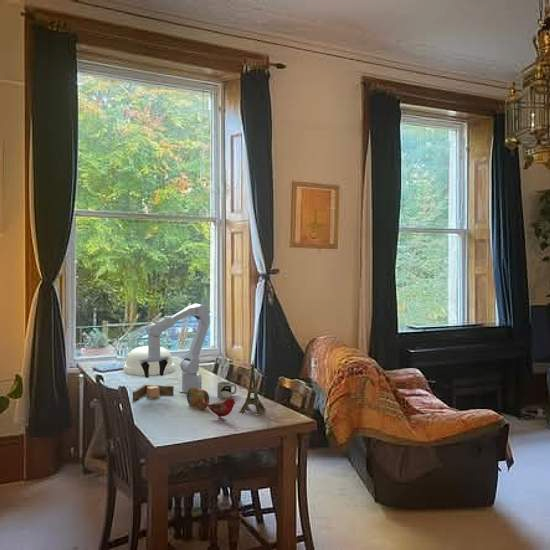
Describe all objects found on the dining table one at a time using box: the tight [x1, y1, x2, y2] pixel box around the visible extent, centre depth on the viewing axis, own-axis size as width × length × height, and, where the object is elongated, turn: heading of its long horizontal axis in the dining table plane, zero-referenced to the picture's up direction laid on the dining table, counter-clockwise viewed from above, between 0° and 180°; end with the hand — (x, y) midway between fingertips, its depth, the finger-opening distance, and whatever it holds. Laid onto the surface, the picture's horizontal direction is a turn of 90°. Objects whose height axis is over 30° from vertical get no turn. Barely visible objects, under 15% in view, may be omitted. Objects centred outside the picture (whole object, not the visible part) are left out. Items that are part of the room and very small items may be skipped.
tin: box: [186, 388, 210, 410], centre depth 250 cm, size 15×3×8 cm, turn 40°
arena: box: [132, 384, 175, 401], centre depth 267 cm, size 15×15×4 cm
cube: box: [146, 386, 160, 399], centre depth 267 cm, size 4×4×4 cm
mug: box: [216, 381, 238, 400], centre depth 270 cm, size 10×7×7 cm
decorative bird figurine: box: [201, 397, 236, 421], centre depth 232 cm, size 3×18×10 cm, turn 61°
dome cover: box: [122, 345, 176, 376], centre depth 330 cm, size 32×30×14 cm
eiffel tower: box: [238, 361, 266, 416], centre depth 245 cm, size 11×11×25 cm
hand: (154, 376), depth 269 cm, fingers open, 7 cm apart
